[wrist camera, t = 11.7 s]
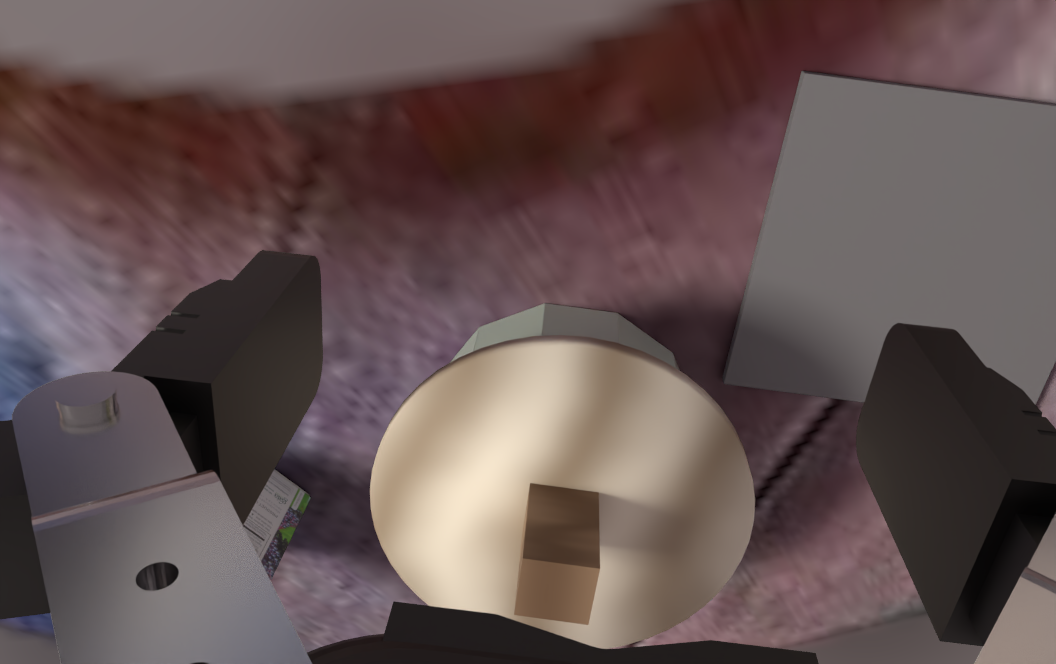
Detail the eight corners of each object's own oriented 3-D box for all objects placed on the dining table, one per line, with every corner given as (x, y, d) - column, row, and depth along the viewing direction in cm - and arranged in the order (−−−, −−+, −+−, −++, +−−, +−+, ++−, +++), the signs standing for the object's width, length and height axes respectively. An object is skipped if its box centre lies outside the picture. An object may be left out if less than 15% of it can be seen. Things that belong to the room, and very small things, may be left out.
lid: (795, 364, 37) (830, 445, 31) (705, 657, 45) (721, 760, 40) (381, 309, 37) (346, 380, 31) (368, 612, 45) (339, 708, 40)
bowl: (716, 325, 44) (737, 397, 38) (664, 534, 50) (675, 625, 44) (446, 290, 44) (422, 355, 38) (429, 503, 50) (407, 589, 44)
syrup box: (259, 545, 53) (153, 756, 40) (179, 490, 51) (42, 691, 38) (313, 494, 51) (220, 699, 38) (232, 435, 49) (105, 628, 36)
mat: (1159, 117, 38) (1167, 120, 37) (1021, 417, 45) (1026, 423, 45) (801, 70, 38) (804, 73, 37) (722, 378, 45) (723, 384, 45)
